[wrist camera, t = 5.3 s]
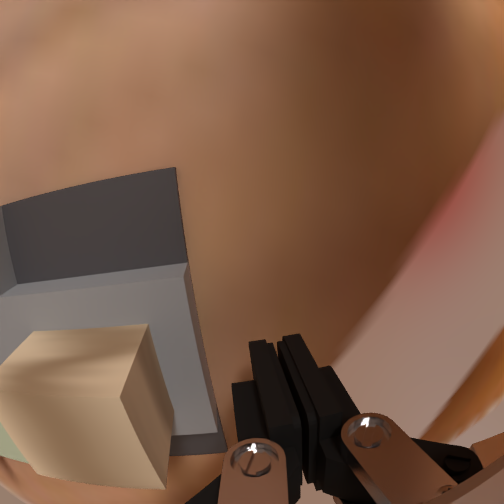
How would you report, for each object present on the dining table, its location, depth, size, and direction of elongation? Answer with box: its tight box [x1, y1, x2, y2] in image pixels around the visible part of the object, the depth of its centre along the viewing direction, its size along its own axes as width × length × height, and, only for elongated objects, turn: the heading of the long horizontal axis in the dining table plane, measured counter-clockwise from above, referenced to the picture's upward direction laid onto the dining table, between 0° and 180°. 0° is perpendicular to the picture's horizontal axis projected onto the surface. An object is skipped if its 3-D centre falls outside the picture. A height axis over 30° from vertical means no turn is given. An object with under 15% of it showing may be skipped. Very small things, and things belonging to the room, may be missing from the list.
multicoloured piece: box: [0, 167, 228, 463], centre depth 9 cm, size 18×14×6 cm
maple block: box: [0, 324, 174, 489], centre depth 8 cm, size 5×4×4 cm
